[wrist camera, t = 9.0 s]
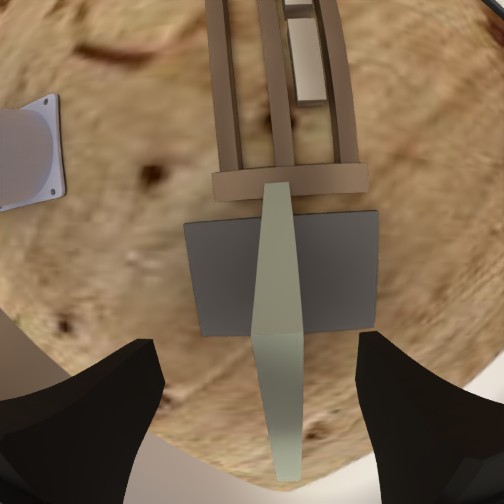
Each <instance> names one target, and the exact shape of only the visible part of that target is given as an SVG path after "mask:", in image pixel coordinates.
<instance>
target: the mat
mask: <svg viewBox="0 0 504 504" xmlns="http://www.w3.org/2000/svg"><path fill="white" fill-rule="evenodd" d="M261 219H262V217H253V218H240V219H228V220H216V221H204V222H193V223H185V224H183V225H184V232H185V239H186V246H187V252H188V259H189V265H190V271H191V278H192V284H193V290H194V295H195V301H196V307H197V312H198V318H199V323H200V328H201V334H202V336H251V327H252V316H253V306H254V295H255V284H256V274H257V263H258V252H259V241H260V230H261ZM293 222H294V232H295V242H296V252H297V262H298V273H299V284H300V296H301V308H302V321H303V333H316V332H329V331H342V330H353V329H363V328H373V327H374V321H375V308H376V292H377V272H378V211H377V210H369V211H348V212H329V213H312V214H296V215H293Z"/></svg>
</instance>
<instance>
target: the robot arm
mask: <svg viewBox="0 0 504 504" xmlns="http://www.w3.org/2000/svg"><path fill="white" fill-rule="evenodd" d="M47 100H48V103H47ZM54 189H55V194H54ZM64 194H65V184H64V176H63V167H62V158H61V147H60V133H59V114H58V96H57V94H54V93H52V94H49V95H47V96H45V97H42V98H40V99H38V100H36V101H34V102H32V103H30V104H28V105H26V106H24V107H22V108H20V109H7V108H0V212H2V211H6V210H9V209H13V208H17V207H21V206H25V205H29V204H33V203H37V202H42V201H46V200H50V199H55V198H59V197H62V196H64ZM355 382H356V388H357V394H358V399H359V404H360V407H361V411H362V414H363V417H364V420H365V424H366V427H367V430H368V433H369V437H370V440H371V443H372V447H373V450H374V454H375V458H376V462H377V469H378V475H379V483H380V491H381V500H382V504H504V404H502V403H498V402H495V401H492V400H489V399H486V398H483V397H480V396H477V395H475V394H472V393H470V392H468V391H465V390H463V389H461V388H459V387H457V386H455V385H453V384H451V383H449V382H447V381H446V380H444V379H442V378H440V377H439V376H437V375H435V374H434V373H432V372H431V371H429V370H428V369H426V368H425V367H423V366H422V365H420V364H419V363H417V362H416V361H415V360H413V359H412V358H410V357H409V356H408V355H407V354H405V353H404V352H403V351H401V350H400V349H399V348H398V347H396V346H395V345H394V344H393V343H391V342H390V341H389V340H388V339H387V338H385V337H384V336H383V335H382V334H380V333H379V332H378V331H371V332H361V333H359V346H358V356H357V366H356V376H355ZM164 386H165V380H164V377H163V374H162V370H161V367H160V364H159V360H158V357H157V353H156V350H155V346H154V342H153V339H136V340H134V341H132V342H130V343H129V344H127V345H125V346H123V347H122V348H120V349H119V350H117V351H115V352H114V353H112V354H111V355H109V356H107V357H106V358H104V359H103V360H101V361H99V362H98V363H96V364H94V365H93V366H91V367H89V368H87V369H86V370H84V371H82V372H80V373H78V374H77V375H75V376H73V377H71V378H69V379H67V380H65V381H63V382H61V383H58V384H56V385H54V386H51V387H49V388H46V389H43V390H40V391H37V392H34V393H32V394H28V395H25V396H21V397H17V398H13V399H8V400H3V401H0V504H123V500H124V496H125V492H126V487H127V484H128V480H129V476H130V473H131V469H132V466H133V463H134V460H135V457H136V454H137V452H138V449H139V447H140V445H141V443H142V441H143V439H144V436H145V434H146V432H147V430H148V428H149V426H150V424H151V422H152V419H153V417H154V415H155V413H156V411H157V408H158V406H159V403H160V400H161V397H162V393H163V389H164Z"/></svg>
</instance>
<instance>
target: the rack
mask: <svg viewBox="0 0 504 504" xmlns="http://www.w3.org/2000/svg"><path fill="white" fill-rule="evenodd" d="M257 1H258V8H259V16H260V24H261V32H262V40H263V48H264V57H265V65H266V74H267V83H268V92H269V102H270V112H271V122H272V132H273V142H274V153H275V164H276V166H271V167H259V168H248V169H243V164H242V154H241V144H240V134H239V123H238V113H237V103H236V93H235V82H234V72H233V62H232V51H231V41H230V31H229V20H228V10H227V0H205V6H206V20H207V34H208V46H209V59H210V71H211V82H212V93H213V104H214V115H215V126H216V136H217V146H218V156H219V166H220V172H216V173H212V182H213V191H214V200H215V202H222V201H233V200H244V199H256V198H263V197H264V186H265V183H279V182H289V187H290V196H298V195H315V194H334V193H357V192H369V174H368V163H361V162H359V159H358V146H357V134H356V123H355V114H354V105H353V96H352V88H351V81H350V74H349V67H348V60H347V54H346V48H345V42H344V37H343V31H342V26H341V21H340V16H339V11H338V6H337V2H336V0H314V5H315V10H316V16H317V21H318V27H319V33H320V39H321V45H322V51H323V58H324V65H325V72H326V80H327V87H328V96H329V104H330V113H331V123H332V134H333V145H334V158H335V163H318V164H300V165H294V153H293V142H292V131H291V121H290V111H289V102H288V93H287V84H286V75H285V67H284V59H283V51H282V44H281V36H280V29H279V22H278V15H277V9H276V2H275V0H257Z"/></svg>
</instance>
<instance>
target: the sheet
mask: <svg viewBox="0 0 504 504" xmlns="http://www.w3.org/2000/svg"><path fill="white" fill-rule="evenodd" d="M251 340H252V346H253V352H254V357H255V363H256V368H257V374H258V380H259V385H260V391H261V396H262V402H263V407H264V413H265V418H266V423H267V429H268V434H269V439H270V445H271V450H272V455H273V461H274V466H275V471H276V476H277V481H300V477H301V456H302V428H303V321H302V308H301V296H300V284H299V273H298V262H297V252H296V242H295V232H294V222H293V213H292V204H291V196H290V187H289V182H279V183H265V186H264V197H263V208H262V219H261V230H260V241H259V252H258V263H257V274H256V284H255V295H254V306H253V316H252V327H251Z"/></svg>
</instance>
